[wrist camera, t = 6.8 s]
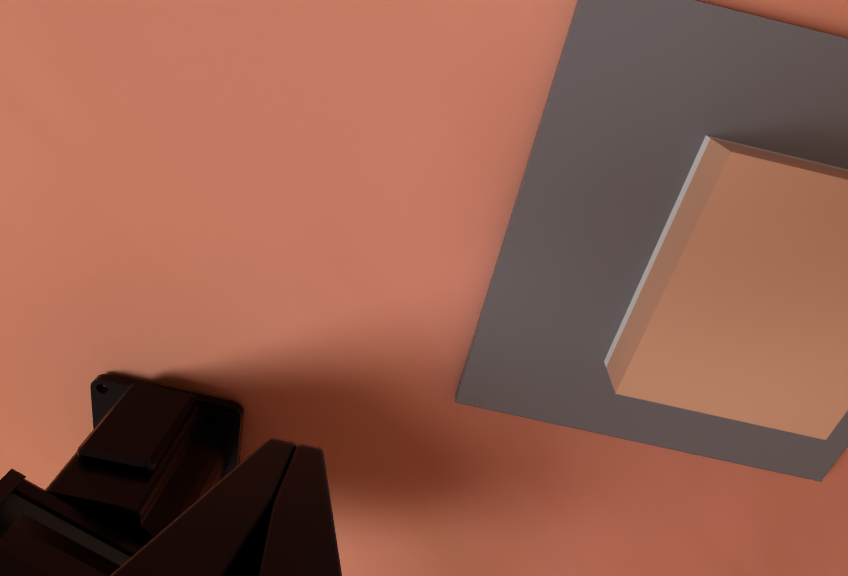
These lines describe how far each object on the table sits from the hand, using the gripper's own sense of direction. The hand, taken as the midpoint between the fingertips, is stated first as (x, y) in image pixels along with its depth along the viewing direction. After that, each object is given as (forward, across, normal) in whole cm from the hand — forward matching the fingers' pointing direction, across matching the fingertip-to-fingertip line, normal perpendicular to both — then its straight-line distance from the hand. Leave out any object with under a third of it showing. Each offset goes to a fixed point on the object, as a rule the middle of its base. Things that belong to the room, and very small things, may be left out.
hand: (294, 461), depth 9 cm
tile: (+11, -9, 0) cm, 15 cm away
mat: (+13, -12, 0) cm, 18 cm away
